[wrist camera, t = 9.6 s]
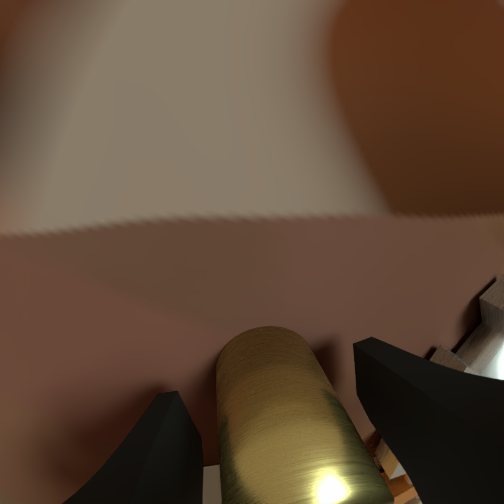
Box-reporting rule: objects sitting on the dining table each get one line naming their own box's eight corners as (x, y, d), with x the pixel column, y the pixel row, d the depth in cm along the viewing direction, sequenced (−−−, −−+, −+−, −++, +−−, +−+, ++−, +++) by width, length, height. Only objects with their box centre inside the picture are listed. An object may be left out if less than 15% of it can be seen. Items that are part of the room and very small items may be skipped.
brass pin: (318, 390, 10) (386, 527, 4) (231, 413, 10) (249, 565, 4) (305, 313, 9) (403, 464, 3) (202, 341, 9) (197, 520, 3)
